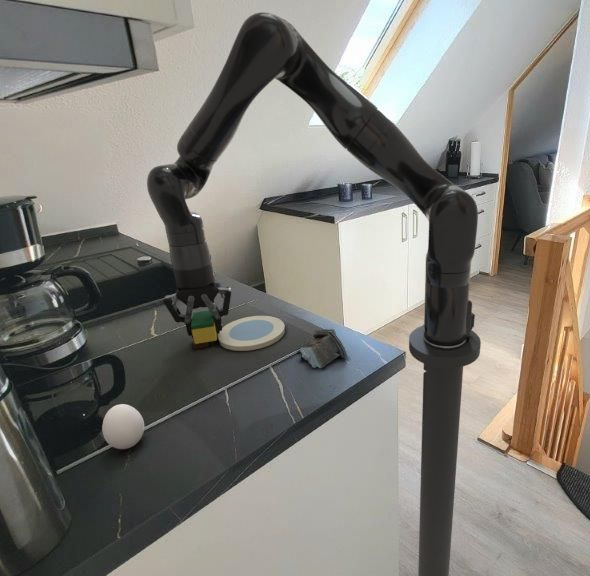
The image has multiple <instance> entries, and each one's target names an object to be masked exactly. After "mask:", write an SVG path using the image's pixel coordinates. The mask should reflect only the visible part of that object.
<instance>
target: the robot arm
mask: <svg viewBox="0 0 590 576" xmlns="http://www.w3.org/2000/svg"><path fill="white" fill-rule="evenodd" d="M274 80H277V81H278V82H280V83H281V84H283V85H284V86H285V87H287V88H288V89H289V90H290V91H292V92H293V93H294V94H295V95H297V96H298V97H299V98H300V99H301V100H303V101H304V102H305V103H306V104H307V105H308V107H310V108H311V109H312V110H313V111H314V113H315V114H316V115H317V117H318V118H319V119H320V121H321V122H322V123H323V125H324V126H325V128H326V129H327V130H328V132H329V133H330V134H331V135H332V137H333V138H334V139H335V140H336V141H337V142H338V144H340V145H341V147H343V148H344V150H346V151H347V152H348V153H350V155H352V156H353V157H354V159H356V160H357V161H359V163H361V164H362V165H363V166H364V167H366V168H367V169H368V170H370V171H371V172H372V173H374V174H375V175H377V176H378V177H380V178H381V179H383V180H385V181H386V182H388V184H391V185H393V186H394V187H396V188H397V189H398V190H399V191H401V192H402V193H403V194H404V195H406V197H407V198H408V199H410V201H411V202H412V203H413V204H414V205H415V206H416V207H417V208H418V210H420V211H421V213H422V214H423V215H424V217H425V218H426V219H427V221H428V238H427V239H428V241H427V243H428V244H427V252H426V253H425V271H424V275H425V276H424V313H423V314H424V317H423V323H422V326H423V328H424V334H423V340H424V342H425V343H426V344H427V345H429V346H431V347H433V348H436V349H441V350H453V349H457V348H460V347H462V346H463V345H464V344H465V343H466V342H469V341H470V332H471V330H472V331H473V328H474V327H475V318H476V317H475V316H476V314H475V313H474V312H472V311H473V302H472V301H471V300H470V299H469V298H470V285H471V284H470V283H471V272H472V271H471V269H472V268H471V267H472V261H473V258H474V256H475V251H476V242H477V235H478V234H477V233H478V224H479V223H478V222H479V211H478V209H479V208H478V205H477V202H476V201H475V199H474V197H473V196H472V195H471V194H470V193H468V192H467V191H466V190H464V189H463V188H461V187H460V186H459V185H456V184H454V183H453V182H452V181H451V180H449V179H448V178H446V176H444V175H443V174H442V173H440V172H439V171H438V170H436V169H435V168H433V166H431V165H430V164H429V163H428V162H427V161H426V160H425V159H424V158H423V156H421V154H420V153H419V151H418V150H417V149H416V147H415V146H414V145H413V143H412V142H411V141H410V139H409V138H408V137H407V136H406V135H405V134H404V133H403V132H402V130H401V129H400V128H399V127H398V126H397V125H396V124H395V123H394V122H393V121H392V120H391V119H390V118H389V117H388V116H387V115H386V114H385V113H384V112H383V111H382V110H381V109H379V108H378V106H376V105H375V104H374V103H373V102H372V101H371V100H369V99H368V98H367V97H366V96H365V95H364V94H362V92H360V91H359V90H357V89H356V88H355V87H354V86H353V85H352V84H350V83H348V81H346V80H345V79H343V78H342V77H341V76H340V75H339V74H337V73H336V72H335V71H333V69H332V68H330V67H329V65H327V64H326V62H325V61H324V60H323V59H322V58H321V57H320V55H318V53H317V52H316V51H315V50H314V49H313V48H312V47H311V45H310V44H309V43H308V42H307V41H306V40H305V38H304V37H303V36H302V35H301V33H300V32H299V31H298V30H297V29H296V28H295V26H294V25H293V24H292V23H290V22H289V21H288V20H286V19H285V18H282V17H280V16H278V15H276V14H273V13H270V12H264V11H263V12H262V11H260V12H256V13H253V14H251V15H250V16H248V17H247V18H246V19H245V20H244V21H243V23H242V25H241V26H240V28H239V31H238V32H237V35H236V37H235V39H234V42H233V44H232V46H231V49H230V51H229V54H228V56H227V58H226V61H225V63H224V65H223V67H222V69H221V71H220V74H219V75H218V77H217V80H216V81H215V82H214V85H213V87H212V89H211V91H210V92H209V94H208V95H207V97H206V98H205V100H204V102H203V104H202V105H201V107H200V108H199V110H198V111H197V113H196V114H195V116H194V117H193V118H192V119H191V121H190V123H189V124H188V125H187V127H186V129H185V130H184V132H183V133H182V134H181V136H180V138H179V139H178V141H177V144H176V151H177V154H178V155H179V156H178V158H177V159H176V160H175V162H174V163H168V164H162V165H157V166H155V167H153V168H152V169H150V171H149V172H148V175H147V178H146V188H147V192H148V195H149V198H150V201H151V202H152V204H153V206H154V208H155V210H156V212H157V214H158V216H159V217H160V219H161V221H162V223H163V225H164V229H165V234H166V238H167V243H168V249H169V258H170V262H171V267H172V271H173V276H174V280H175V284H176V292H175V293H173V294H166V295H165V296H164V299H163V302H162V303H163V304H164V306H165V308H166V309H167V311H168V312H169V314H170V315H171V317H172V319H173V321H174V322H175V323H180V322H181V323H183V324H185V328H186V332H187V335H188V336H189V337H191V339H193V334H192V329H191V322H192V317H193V311H194V310H196V309H199V308H207V310H209V311H210V312H211V313H212V314H213V316H214V322H215V328H216V333H217V335H218V334H220V331H222V328H223V322H222V321H223V320H222V317H224V316H227V315H229V311H230V304H231V298H232V287H230V286H225V287H219V285H218V284H217V283H216V280H215V274H214V269H213V264H212V255H211V253H210V248H209V245H208V242H207V239H206V233H205V228H204V222H203V219H202V217H201V215H200V214H199V213H198V212H195V211H190V209H189V206H188V204H187V201H186V200H189V199H192V198H194V197H196V196H197V195H198V194H199V193H201V191H202V189H204V187H205V186H206V184H207V182H208V179H209V177H210V175H211V173H212V169H213V167H214V165H215V164H216V163H217V162H218V160H219V159H220V158H221V156H222V155H223V153H224V152H225V151H226V149H227V148H228V146H229V145H230V144H231V142H232V141H233V139H234V137H235V135H236V133H237V131H238V129H239V127H240V125H241V122H242V120H243V118H244V116H245V114H246V112H247V111H248V109H249V108H250V106H251V104H252V103H253V101H254V100H255V99H256V98H257V96H258V95H259V94H260V93H261V92H262V91H263V90H264V89H265V88H266V87H267V86H268V85H269V84H270V83H271V82H272V81H274ZM218 294H220V297H221V298H222V299H223V303H222V307H221V308H219V307H218V305H217V302H216V301H215V299H216V297H217V296H218ZM177 299H178V300H179V301H180V302H182V303H183V304H184V305H185V306H186V308H185V314H184V313H183V314H182V312H181V311H180V309H179V307H178V305H177V303H178V300H177Z"/></svg>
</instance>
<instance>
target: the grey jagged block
mask: <svg viewBox="0 0 590 576" xmlns="http://www.w3.org/2000/svg"><path fill="white" fill-rule="evenodd" d="M336 333H337V332H336V331H335V330H334V329H333V328H329V329H328V328H326V329H325V328H324V329H319V330H317V329H315V330H314V333H313V338H314V339H313V340H311V341H310V342H309V343H307V344H305V345H303V346H302V347H300V349H299V352H300V354H301V357H300V360H301V361H307V362H308V364H309V365H310V366H311V367H312V368H319V369H323V368H325V367H326V366H327V365H328V364H330V363H331V362H333V361H334V360H335V359H337V358H338V357H339V358H348V353H347V351H346V347H344V344H343V343H342V341H341V339H340V338H339V337H338V335H337V334H336Z"/></svg>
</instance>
